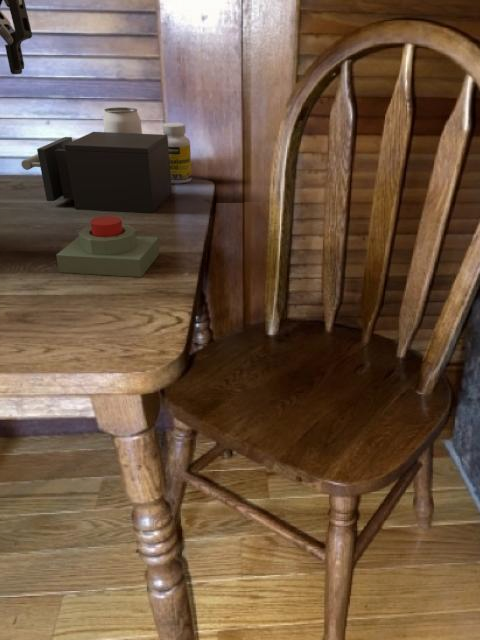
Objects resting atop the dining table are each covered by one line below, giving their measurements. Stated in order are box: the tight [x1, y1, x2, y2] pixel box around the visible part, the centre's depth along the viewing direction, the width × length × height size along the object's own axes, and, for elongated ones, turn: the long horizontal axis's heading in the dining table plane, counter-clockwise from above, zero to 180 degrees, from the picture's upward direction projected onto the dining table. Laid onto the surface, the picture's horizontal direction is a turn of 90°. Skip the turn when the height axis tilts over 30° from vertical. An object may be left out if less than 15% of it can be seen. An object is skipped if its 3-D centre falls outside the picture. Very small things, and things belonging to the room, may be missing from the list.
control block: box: [55, 223, 160, 278], centre depth 70 cm, size 10×8×4 cm
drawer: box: [21, 136, 74, 202], centre depth 92 cm, size 16×10×8 cm, turn 85°
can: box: [102, 106, 143, 134], centre depth 103 cm, size 6×6×12 cm
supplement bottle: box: [162, 122, 192, 185], centre depth 104 cm, size 5×5×10 cm
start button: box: [89, 215, 123, 237], centre depth 68 cm, size 4×4×2 cm
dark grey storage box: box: [65, 131, 173, 214], centre depth 92 cm, size 13×12×10 cm
